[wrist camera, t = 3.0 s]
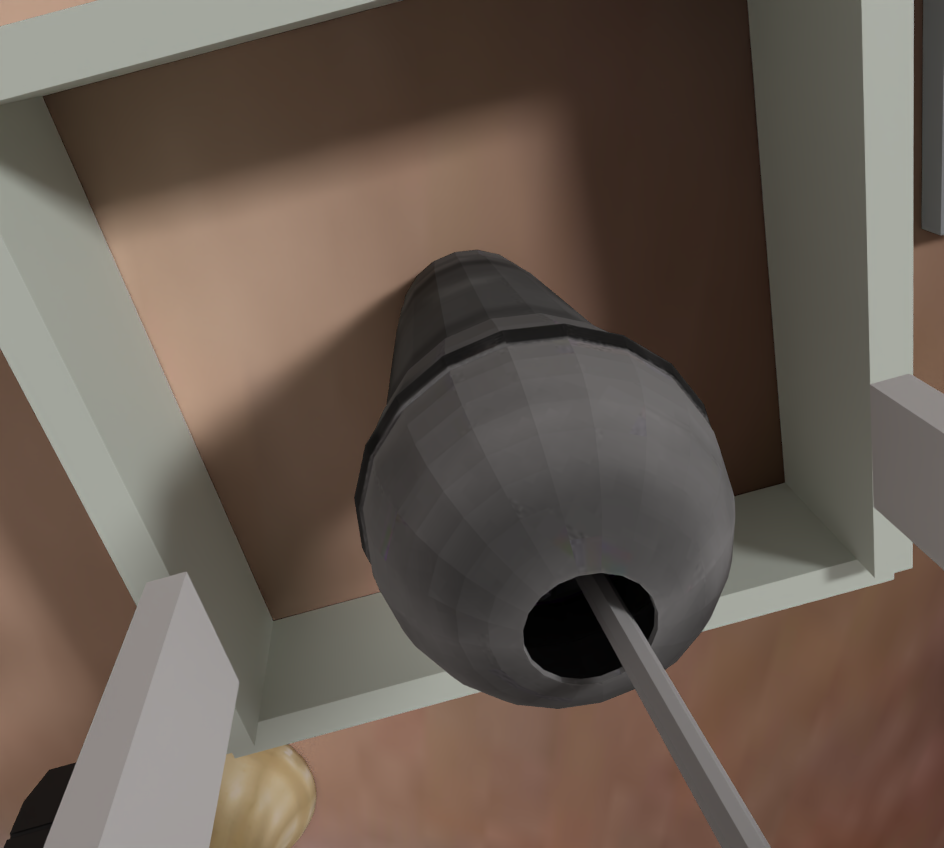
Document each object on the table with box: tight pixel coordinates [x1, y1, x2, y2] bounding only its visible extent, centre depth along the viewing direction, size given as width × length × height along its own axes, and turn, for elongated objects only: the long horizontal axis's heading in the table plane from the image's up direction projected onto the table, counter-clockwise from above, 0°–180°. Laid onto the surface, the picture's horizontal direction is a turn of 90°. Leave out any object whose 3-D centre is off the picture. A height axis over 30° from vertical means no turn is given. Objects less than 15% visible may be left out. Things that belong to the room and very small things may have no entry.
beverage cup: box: [354, 250, 771, 848], centre depth 18 cm, size 7×7×20 cm
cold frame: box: [0, 0, 914, 758], centre depth 24 cm, size 21×22×7 cm
